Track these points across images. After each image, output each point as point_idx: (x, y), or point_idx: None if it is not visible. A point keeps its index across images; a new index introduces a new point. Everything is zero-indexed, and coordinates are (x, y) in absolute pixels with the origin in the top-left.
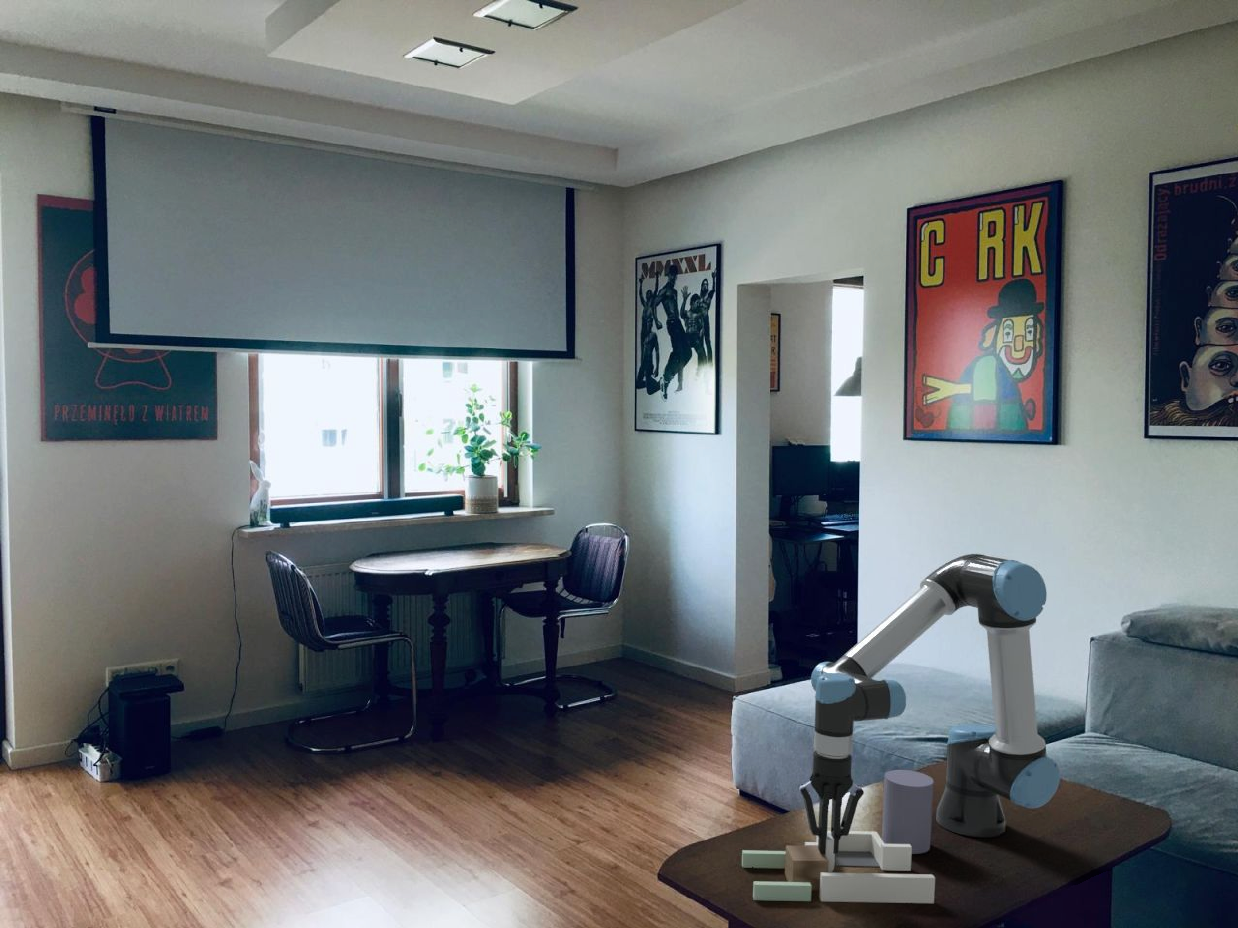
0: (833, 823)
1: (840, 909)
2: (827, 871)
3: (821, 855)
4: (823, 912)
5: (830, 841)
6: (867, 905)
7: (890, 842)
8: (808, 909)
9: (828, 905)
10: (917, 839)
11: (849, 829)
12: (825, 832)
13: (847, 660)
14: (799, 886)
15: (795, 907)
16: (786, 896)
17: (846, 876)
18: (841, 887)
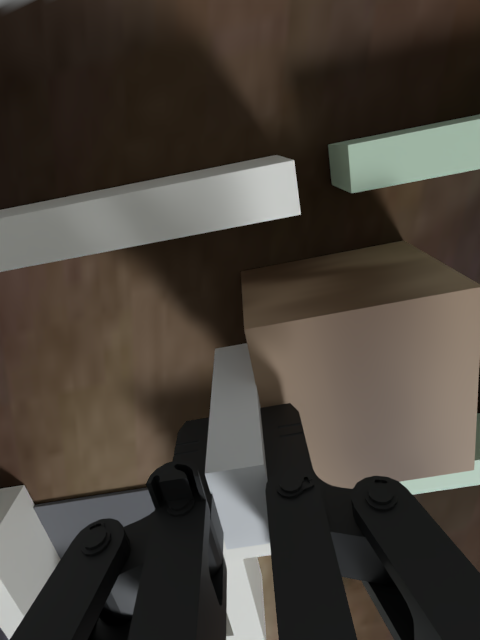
0: (206, 623)
1: (182, 79)
2: (245, 303)
3: (282, 394)
4: (274, 16)
5: (232, 456)
6: (51, 161)
7: (1, 637)
8: (352, 36)
9: (242, 114)
10: None
11: (52, 576)
12: (282, 513)
13: None
14: (418, 131)
15: (419, 45)
16: (463, 118)
17: (129, 192)
18: (170, 180)
